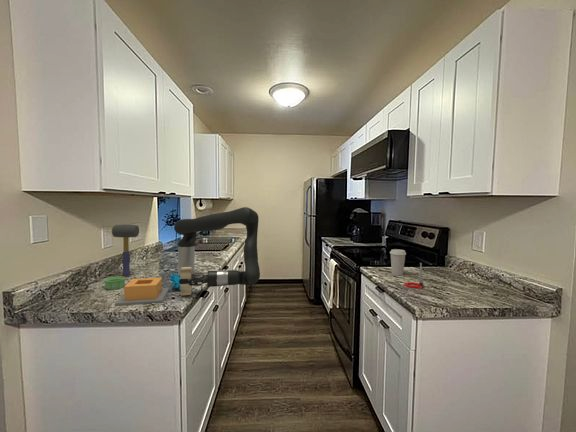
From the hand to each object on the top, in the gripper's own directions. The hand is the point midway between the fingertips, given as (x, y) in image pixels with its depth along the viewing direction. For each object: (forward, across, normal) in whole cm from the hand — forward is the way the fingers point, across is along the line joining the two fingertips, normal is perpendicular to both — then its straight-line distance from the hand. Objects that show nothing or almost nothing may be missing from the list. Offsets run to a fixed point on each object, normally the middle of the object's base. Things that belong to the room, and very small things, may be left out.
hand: (180, 280), depth 129 cm
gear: (+2, -10, +7) cm, 12 cm away
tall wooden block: (-3, 0, +6) cm, 7 cm away
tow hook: (-119, +10, +7) cm, 119 cm away
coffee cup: (-126, -14, +7) cm, 127 cm away
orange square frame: (+15, 0, +7) cm, 17 cm away
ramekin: (+33, -19, +7) cm, 39 cm away
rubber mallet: (+34, -40, +7) cm, 53 cm away
